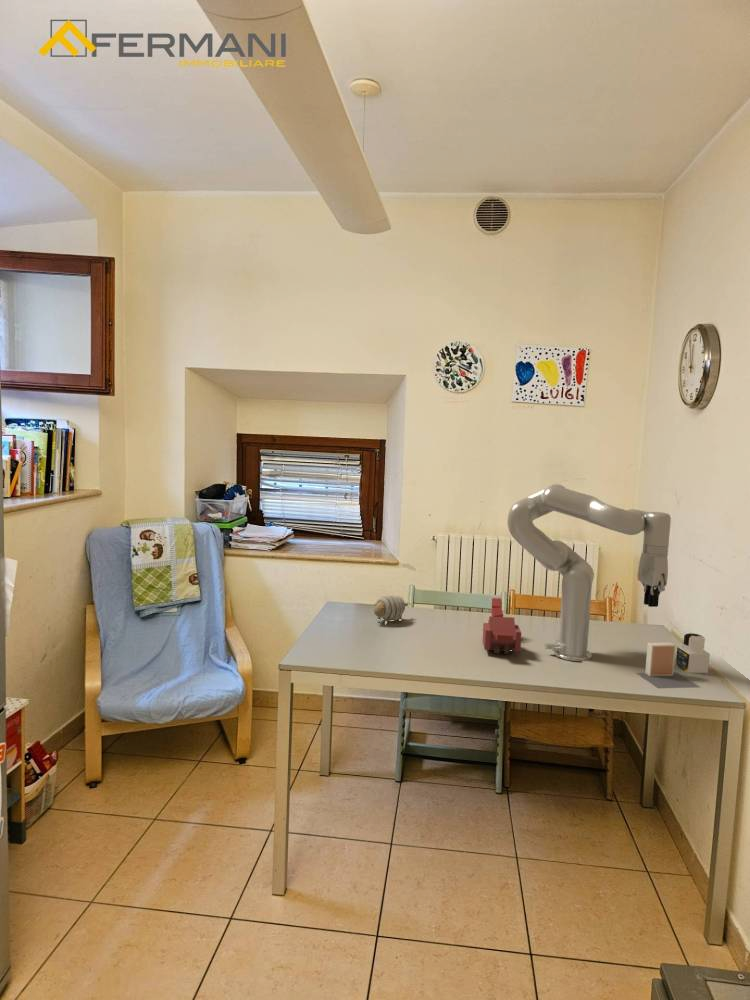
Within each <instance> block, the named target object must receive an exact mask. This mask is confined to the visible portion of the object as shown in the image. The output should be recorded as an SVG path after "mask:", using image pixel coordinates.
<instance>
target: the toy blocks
mask: <svg viewBox="0 0 750 1000" xmlns="http://www.w3.org/2000/svg"><path fill="white" fill-rule="evenodd" d="M502 606H503V600H502V597H501V598H500V597H498V598H497V597H491V615H489V617H488V621H487V622H483V625H482V640H481V641H482V645H483V649H484V650H485V651H491V650H490V649H494V650H493V654H494V653H499V654H500V651H501V650H504V651H503V654H504V655H510V653H511V652H513V650H514V652H515V653H516V652H517V653H519V652H520V653H521V646H522V645H521V644H522V631H521V629H520V627H519V625H518V624H515V623H516V622H515V621H516V620H515V617H511V616H509V617H508V616H504V612H503V607H502ZM510 650H512V651H510Z"/></svg>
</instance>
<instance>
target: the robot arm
mask: <svg viewBox="0 0 750 1000" xmlns="http://www.w3.org/2000/svg"><path fill="white" fill-rule="evenodd" d="M552 512H557V513H559V514H563V515H566V516H570V517H573V518H576V519H579V520H582V521H586V522H587V523H590V524H592V525H593V524H594V525H597V526H599V527H602V528H605V529H608V530H610V531H614V532H617V533H621V534H624V535H628V536H636V535H638V534H640V533H641V532H643V544H642V551H641V554H640V558H639V562H638V568H637V580H638V581H639V582H640V583H641V585H642V586H643V592H644V596H643V604H644V605H645V606H648V608H649V607H650V608H653V607H655V608H656V607H659V600H660V598H659V597H660V595H661V593H662V592H665V591H666V588H665V587H667V584H668V583H667V582H668V575H669V574H668V573H669V564H668V563H669V562H668V561H669V560H668V555H669V544H670V534H671V533H670V531H671V522H672V520H671V519H672V518H671V515H670V514H669V513H668V512H667V513H666V512H663V511H662V512H661V511H645V510H640V509H633V508H631V509H630V508H629V509H623V508H619V507H617V506H614V505H611V504H608V503H606V502H604V501H602V500H600V499H598V497H595V496H593V495H589V494H586V493H582V492H580V491H575V490H573V489H569V488H566V487H565V486H564V485H561V484H557V483H556V484H551V485H549V486H548V487H546V488H544V489H542V490H540V491H538V492H535V493H533V494H531V495H529V496H526V497H524V498H523V499H520V500H518V501H516V502H515V503H513V504H512V505H511V507H510V509H509V511H508V514H507V527H508V528H507V529H508V531H509V533H510V536H512V538H513V539H514V540H515V541H516V542H517V543H518V544H519V545H520V546H521V547H522V548H523V549H525V551H526V552H527V553H528V554H530V555H531V556H532V557H533V558H534V559H535V560H536V561H537V562H539V564H541V566H542V567H544V568H545V569H546V570H548V571H551V572H557V573H559V574H560V575H561V576H562V578H561V603H560V621H559V631H558V632H559V633H558V639H556V640H555V642H553V643H545V644H544V649H545V650H551V651H552V652H553V655H554V656H556V657H558V658H560V659H561V660H562V659H563V660H567V661H572V662H582V661H589V660H590V659H592V657H593V654H592V652H590V651H589V650H588V647H589V634H590V633H589V632H590V631H589V629H590V619H591V616H590V615H591V605H592V604H591V603H592V589H593V582H594V579H595V578H594V577H595V573H594V572H595V571H594V569H593V567H592V566H591V564H589V562H587V561H586V560H585V559H584V558H583V557H581V555H579V554H578V553H577V552H576V551H575V550H574V549H572V548H571V547H570V546H569V545H567V544H566V543H565V542H563V541H560V540H557V539H556V540H552V539H551V538H550V537H548V535H546V534H545V533H544V531H542V530H540V528H538V527H537V526H535V524H534V522H533V521H535V520H536V519H539V518H541V517H543V516H545V515H548V514H550V513H552Z"/></svg>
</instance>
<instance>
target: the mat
mask: <svg viewBox="0 0 750 1000" xmlns="http://www.w3.org/2000/svg"><path fill="white" fill-rule="evenodd" d="M636 675H638V676H640V677H641V678H642V679H643V680H645V681H647V682H649V684H651V685H652V686H654V687H655V688H657V689H676V688H677V689H678V688H679V689H681V688H683V689H685V688H701V686H700V685H698V684H696V683H695V682H693V681H692V680H690V679H688V678H686V677H685V676H684V675H682V674H680V673H678V672H677V671H673V675H672V676H649V675H647V674H646V673H645V672H636Z"/></svg>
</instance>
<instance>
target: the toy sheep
mask: <svg viewBox="0 0 750 1000" xmlns="http://www.w3.org/2000/svg"><path fill="white" fill-rule="evenodd" d="M408 605H409V603H408V602H405V600H404V598H403V597H401V596H400V595H398V594H392V593H391V594H389V593H388V594H385V595H383V596H381V597H380V598H378V599H377V601H376V602H375V603H374V606H375V607H374V609H373V614H374V615H375V616H377V617H376V618H378V619H380V620H381V619H382V618H383V619H384V620H383V619H382V620H383V621H388V620H394V621H393V622H395V621H396V619H397V620H398V619H402V617H403V613H404V612H405V609H406V607H408ZM388 622H389V621H388Z"/></svg>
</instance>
